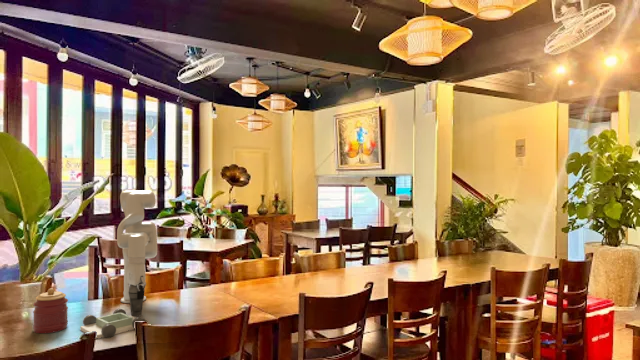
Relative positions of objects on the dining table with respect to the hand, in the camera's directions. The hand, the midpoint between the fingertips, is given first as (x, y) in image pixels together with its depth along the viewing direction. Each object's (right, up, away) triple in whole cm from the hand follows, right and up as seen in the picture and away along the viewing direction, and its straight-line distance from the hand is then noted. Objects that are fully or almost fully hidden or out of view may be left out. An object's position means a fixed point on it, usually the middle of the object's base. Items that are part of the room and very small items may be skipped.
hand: (136, 297), depth 213 cm
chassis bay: (-2, -9, -18) cm, 20 cm away
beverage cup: (0, -9, 0) cm, 9 cm away
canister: (-29, -9, -20) cm, 36 cm away
